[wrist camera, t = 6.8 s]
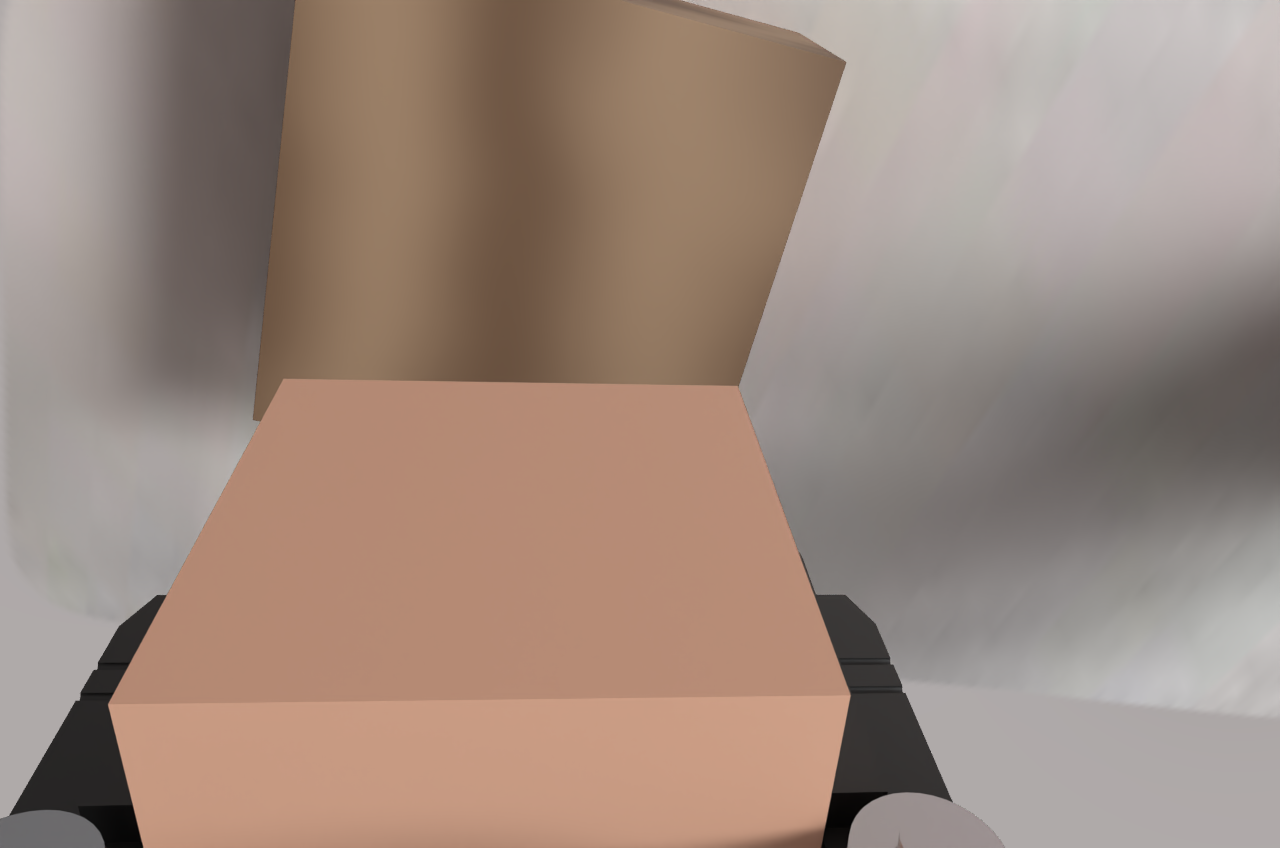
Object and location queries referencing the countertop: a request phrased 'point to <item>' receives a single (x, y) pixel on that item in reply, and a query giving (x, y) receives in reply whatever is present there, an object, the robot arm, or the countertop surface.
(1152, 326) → the countertop surface
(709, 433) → the terracotta cube
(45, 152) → the countertop surface
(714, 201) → the walnut block
